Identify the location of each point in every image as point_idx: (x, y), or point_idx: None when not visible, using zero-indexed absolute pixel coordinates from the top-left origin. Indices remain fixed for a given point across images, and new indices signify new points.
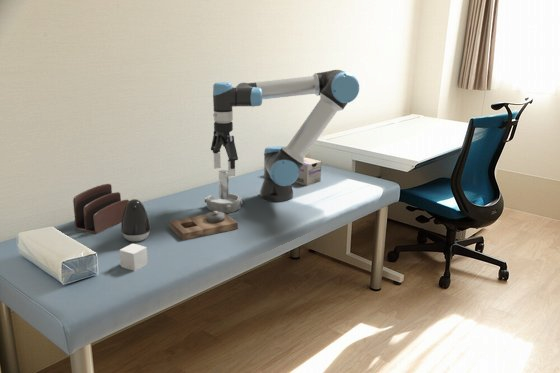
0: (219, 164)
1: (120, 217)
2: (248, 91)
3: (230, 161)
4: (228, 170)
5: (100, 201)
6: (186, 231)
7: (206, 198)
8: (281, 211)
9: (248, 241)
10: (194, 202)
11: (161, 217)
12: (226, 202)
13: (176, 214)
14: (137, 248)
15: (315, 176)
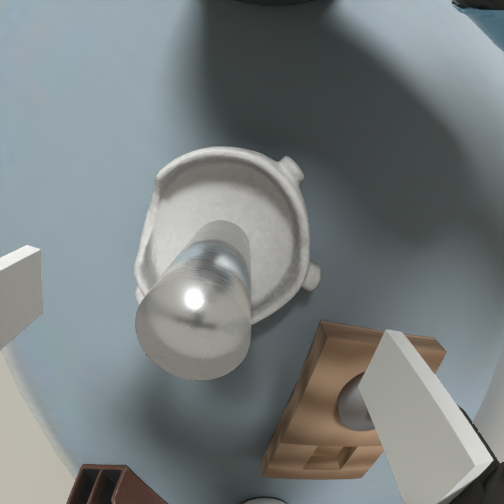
0: (17, 275)
1: (144, 493)
2: None
3: (443, 501)
4: (380, 430)
5: None
6: (358, 471)
7: None
8: (433, 75)
9: (486, 354)
10: (84, 284)
11: (167, 436)
12: (205, 204)
13: (167, 402)
14: None
15: None
